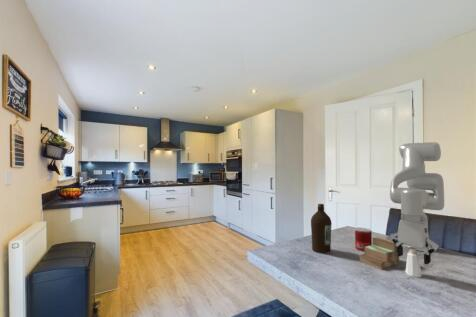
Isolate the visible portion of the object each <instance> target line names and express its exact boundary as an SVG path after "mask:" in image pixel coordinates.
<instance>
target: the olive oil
mask: <svg viewBox="0 0 476 317" xmlns="http://www.w3.org/2000/svg"><path fill="white" fill-rule="evenodd" d="M332 224H333V223H332V220H331V217H330V216H329V215H328V214H327V213H326V211H325V204H323V203H318V204H317V211H316V212H315V213H314V214H313V215H312V216H311V219H310V228H311V231H310V232H311V249H312V251H313V252H314V253H319V254H329V253H331V252H332V250H331V248H332V246H331V245H332Z"/></svg>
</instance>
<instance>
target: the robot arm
mask: <svg viewBox="0 0 476 317" xmlns="http://www.w3.org/2000/svg"><path fill="white" fill-rule="evenodd" d="M398 150H399V154H400V156H401V158H402V170H400V171H398V173H396V174H395V175H394V176H393V177H392V180H391V182H390V189H389V198H390V200H391V201H392V203H394V204H399V205H400V214H401V215H400V220H399V222H398V228H397V232H395V233H391V234H389V237H390V238H391V241H393V242H394V243H395V246H397V253H398V256H399V257H402V256H403V255H404V247H405V248H407V249H409V247H413V248H416V249H417V252H419V251H420V252H424V254H423V264H424V265H429V264H430V263H431V261H432V259H431V258H432V257H431V254H433V253H435V252H436V251H437V249H438V248H439V247H440V246H439V244H438V243H436V242H434V241H433V240H431V239H430V238H429V237H430V236H429V224H428V222H429V221H428V216H427V214H426V213H425V212H424V210H429V211H442V210H444V208H445V186H444V184H445V183H444V178H443V176H442V175H441V174H440V173H436V172H426V164H425V162H437V161H439V160H440V159H441V156H442V151H441V145H440V144H439V143H438V142H436V141H432V142H412V143H411V142H410V143H402V144H401V145H400V146H399V148H398ZM404 182H406V186H407V187H399V185H401V184H402V183H404ZM428 191H429V192H428ZM430 191H432V192H430ZM396 237H397V238H396ZM403 246H404V247H403ZM431 246H432V247H431Z"/></svg>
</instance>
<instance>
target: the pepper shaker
mask: <svg viewBox="0 0 476 317" xmlns="http://www.w3.org/2000/svg"><path fill="white" fill-rule="evenodd" d="M420 262H421V261H420V256H419V255H418V250H417V249H416V248H413V247H409V248H408V252H407V254H406V262H405V263H406V264H405V273H406V275H407V276H410V277H414V278H421V277H422V269H421V263H420Z"/></svg>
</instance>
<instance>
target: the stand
mask: <svg viewBox="0 0 476 317" xmlns="http://www.w3.org/2000/svg"><path fill="white" fill-rule="evenodd" d="M359 262H360V263H363V264H366V265H368V266H370V267H374V268H376V269H378V270H381V271H382V270H385V269H387V268H389V267H392V266H395V265H397V264H399V263H400V256H398V253H397V246H395V243H394V242H393V241H392V239H391V240H389V239H387V238H382V237H379V236H376V237H372V245H371V246H367V247H365V252H364V253H363V254H359Z"/></svg>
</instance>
